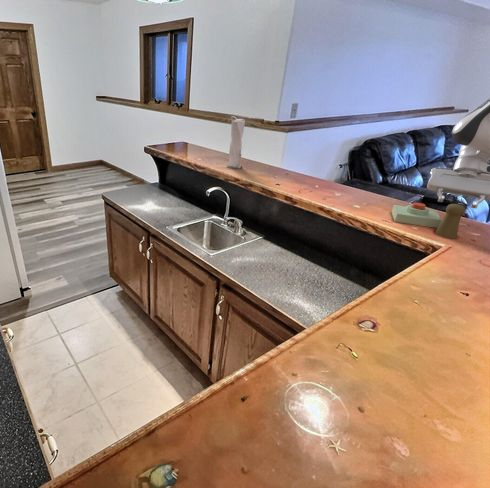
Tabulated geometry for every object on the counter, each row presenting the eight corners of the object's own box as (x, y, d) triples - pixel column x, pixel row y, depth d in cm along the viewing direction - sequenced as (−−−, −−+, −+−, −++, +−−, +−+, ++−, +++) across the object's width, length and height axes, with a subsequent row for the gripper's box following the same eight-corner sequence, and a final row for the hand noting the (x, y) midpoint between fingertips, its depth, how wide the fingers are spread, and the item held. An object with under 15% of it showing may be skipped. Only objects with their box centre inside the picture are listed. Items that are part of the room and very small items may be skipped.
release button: (423, 207, 133) (424, 203, 132) (425, 211, 130) (426, 206, 129) (410, 206, 135) (412, 201, 134) (412, 209, 131) (414, 205, 131)
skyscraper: (225, 167, 203) (230, 116, 191) (227, 164, 210) (232, 115, 198) (240, 168, 201) (245, 117, 188) (241, 165, 208) (247, 115, 195)
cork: (439, 237, 120) (451, 207, 116) (432, 230, 126) (443, 201, 121) (459, 239, 119) (472, 208, 114) (451, 232, 124) (463, 202, 120)
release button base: (432, 218, 136) (437, 206, 134) (438, 228, 127) (443, 215, 125) (391, 212, 141) (395, 200, 139) (394, 221, 133) (398, 209, 130)
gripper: (434, 161, 127) (422, 193, 124) (509, 170, 116) (497, 206, 113) (431, 170, 132) (419, 201, 130) (502, 181, 121) (491, 215, 118)
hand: (456, 204), depth 121 cm, fingers open, 8 cm apart
